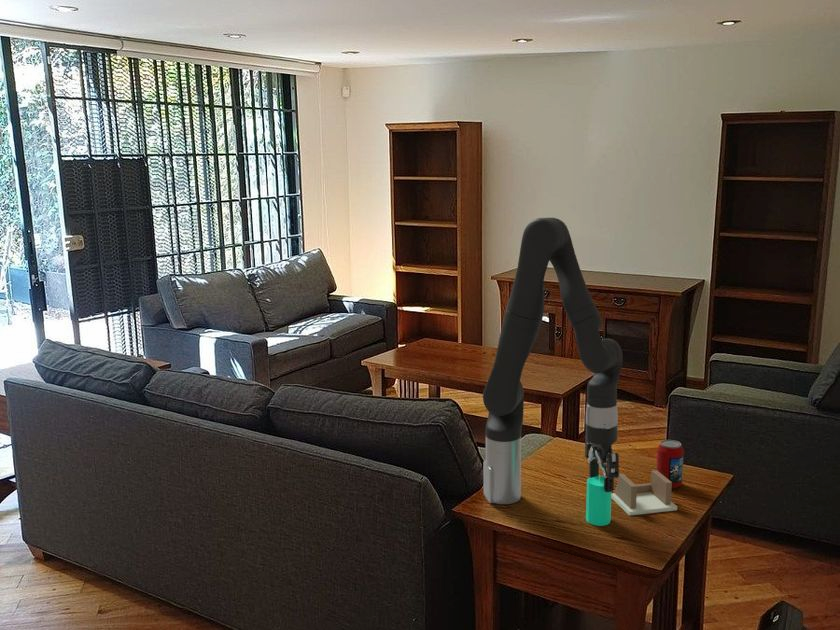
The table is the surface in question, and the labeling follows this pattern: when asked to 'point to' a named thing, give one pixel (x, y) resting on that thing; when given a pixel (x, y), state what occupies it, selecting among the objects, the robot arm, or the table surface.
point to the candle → (598, 502)
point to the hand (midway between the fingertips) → (601, 484)
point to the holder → (644, 495)
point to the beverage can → (671, 461)
